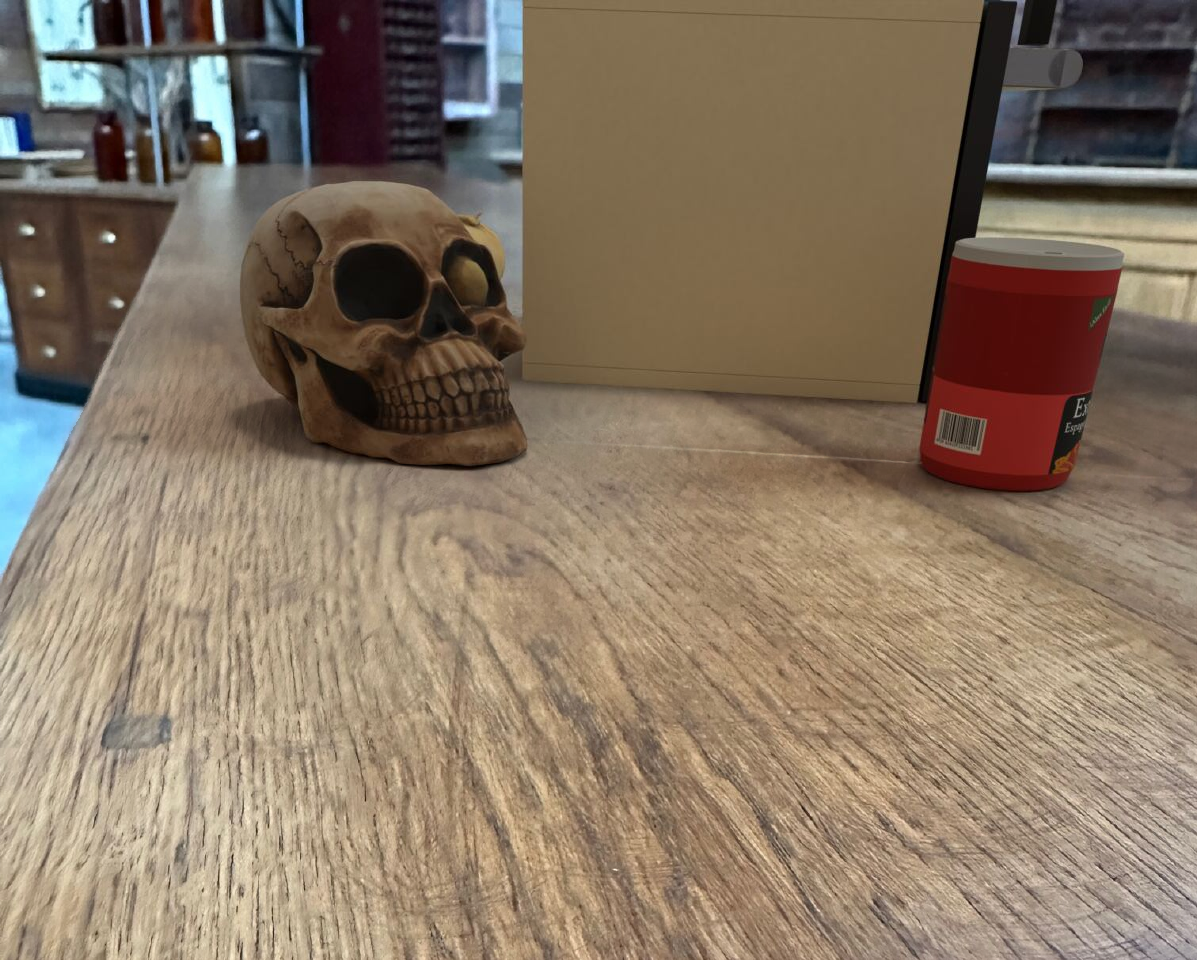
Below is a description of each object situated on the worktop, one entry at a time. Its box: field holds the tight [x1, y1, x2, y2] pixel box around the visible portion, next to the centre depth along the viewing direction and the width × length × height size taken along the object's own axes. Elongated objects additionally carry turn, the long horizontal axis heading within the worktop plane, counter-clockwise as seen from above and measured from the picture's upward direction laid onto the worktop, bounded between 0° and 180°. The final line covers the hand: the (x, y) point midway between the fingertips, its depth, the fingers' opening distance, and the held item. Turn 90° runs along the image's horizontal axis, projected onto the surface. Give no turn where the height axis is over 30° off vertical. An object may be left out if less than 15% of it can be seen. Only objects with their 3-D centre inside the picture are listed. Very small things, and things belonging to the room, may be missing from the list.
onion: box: [455, 211, 506, 281], centre depth 111 cm, size 8×8×7 cm
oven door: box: [918, 0, 1084, 403], centre depth 83 cm, size 7×28×22 cm, turn 174°
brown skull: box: [239, 180, 528, 467], centre depth 64 cm, size 16×17×13 cm
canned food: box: [918, 236, 1125, 492], centre depth 60 cm, size 8×8×11 cm
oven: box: [521, 0, 985, 404], centre depth 84 cm, size 26×28×22 cm
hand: (1032, 44), depth 78 cm, fingers closed
